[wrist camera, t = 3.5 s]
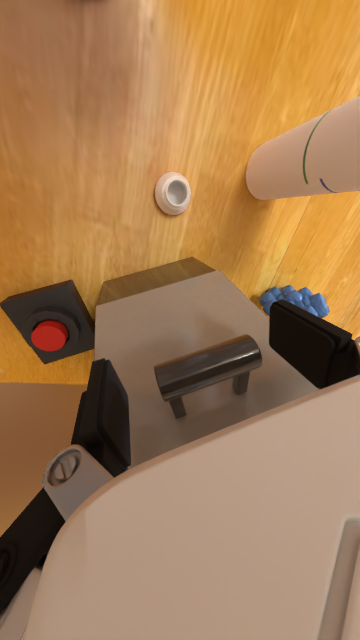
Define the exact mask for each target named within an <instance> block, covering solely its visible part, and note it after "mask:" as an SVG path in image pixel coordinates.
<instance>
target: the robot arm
mask: <svg viewBox="0 0 360 640" xmlns="http://www.w3.org/2000/svg"><path fill="white" fill-rule="evenodd" d="M351 337H352V334H351V333H349V332H347V331H345V330H343V329H341V328H339V327H337V326H335V325H333V324H331V323H329V322H327V321H325V320H323V319H321V318H320V317H318V316H316V315H314V314H312V313H310V312H308V311H306V310H304V309H302V308H300V307H298V306H296V305H294V304H292V303H290V302H288V301H286V300H284V299H282V300H279V301H275V302H273V303H272V305H271V306H270V316H269V345H270V347H271V348H272V349H273V350H274V351H275V352H276V353H278V354H279V355H280V356H281V357H282V358H283V359H284V360H286V361H287V362H288V363H289V364H290V365H291V366H292V367H294V368H295V369H296V370H297V371H298V372H299V373H300V374H301V375H303V376H304V377H305V378H306V379H307V380H308V381H309V382H311V383H312V384H313V385H314V386H315V387H316V388H318V389H321V390H318V391H316V392H313V393H311V394H308V395H306V396H303V397H301V398H298V399H296V400H293V401H291V402H288V403H286V404H283V405H281V406H278V407H276V408H273V409H271V410H268V411H266V412H263V413H261V414H258V415H256V416H253V417H251V418H249V419H246V420H244V421H241V422H239V423H236V424H234V425H231V426H229V427H226V428H224V429H222V430H219V431H217V432H214V433H212V434H209V435H207V436H204V437H202V438H200V439H197V440H195V441H192V442H190V443H187V444H185V445H183V446H180V447H178V448H176V449H173V450H171V451H169V452H166V453H164V454H162V455H159V456H157V457H155V458H152V459H150V460H148V461H145V462H143V463H141V464H139V465H137V466H135V467H133V468H131V469H129V470H128V466H131V444H130V422H129V400H128V395H127V392H126V390H125V389H124V387H123V385H122V383H121V381H120V379H119V377H118V375H117V373H116V371H115V369H114V367H113V365H112V363H111V361H110V360H109V359H108V360H106V359H105V358H102V359H99V360H96V361H93V362H92V367H91V372H90V377H89V382H88V387H87V391H85V392H83V393H82V396H81V400H80V404H79V409H78V413H77V419H76V423H75V427H74V432H73V437H72V441H71V445H70V446H67V447H65V448H64V449H62V450H61V451H59V452H58V453H57V454H56V455H55V456H54V457H53V458H52V460H51V461H50V462H49V464H48V465H47V467H46V469H45V471H44V474H43V480H42V483H43V488H42V490H41V491H40V492H39V493H38V494H37V495H36V497H35V498H34V499H33V500H32V501H31V502H30V504H29V505H28V506H27V507H26V508H25V509H24V511H23V512H22V513H21V514H20V515H19V516H18V517H17V519H16V520H15V521H14V522H13V523H12V524H11V526H10V527H9V528H8V529H7V530H6V531H5V533H4V534H3V535H2V536H1V537H0V640H21V638H22V635H23V634H24V632H25V634H24V638H23V640H360V336H359V337H357V338H356V339H355V341H354V340H352V339H351ZM25 629H26V630H25Z"/></svg>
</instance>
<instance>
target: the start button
mask: <svg viewBox="0 0 360 640" xmlns="http://www.w3.org/2000/svg"><path fill="white" fill-rule="evenodd" d="M67 337H68V330H67V328H66V327H65V326H64V325H63V324H62V323H60V322H57V321H53V320H47V321H43V322H41V323H40V324H39V325H38V326H37V327H36V328H35V330H34V331H33V333H32V335H31V339H32V342H33V344H34V345H35V346H36V347H38V348H39V349H41V350H45V351H55V350H58V349H60V348H62V347H63V346H64V344H65V342H66V339H67Z"/></svg>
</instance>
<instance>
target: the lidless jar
mask: <svg viewBox="0 0 360 640" xmlns="http://www.w3.org/2000/svg"><path fill="white" fill-rule="evenodd" d="M155 198H156V201H157V204H158V206H159V207H160V208H161V209H162V211H163V212H165V213H167V214H169V215H178V214H180V213H182V212H184V211H185V210H186V208H187V207H188V206H189V203H190V200H191V188H190V185H189V182H188V181H187V180H186V178H185V177H184V176H183V175H181V174H180V173H178V172H168V173H166V174H164V175H162V176H161V178H160V179H159V180H158V182H157V184H156V188H155Z"/></svg>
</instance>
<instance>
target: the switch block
mask: <svg viewBox="0 0 360 640" xmlns="http://www.w3.org/2000/svg"><path fill="white" fill-rule="evenodd" d="M0 306H1V308H2V309H3V310H4V312H5V313H6V314H7V316H8V317H9V318H10V320H11V321H12V322H13V324H14V325H15V326H16V328H17V329H18V330H19V331H20V333H21V334H22V336H23V338H24V339H25V340H26V342H27V343H28V344H29V346H30V347H32V349H33V350H34V351H35V353H36V354H37V355H38V357H39V358H40V359H41V361H42V362H43V363H44V364H47V363H50V362H54V361H57V360H60V359H63V358H66V357H69V356H72V355H75V354H78V353H82V352H85V351H88V350H91V349H94V348H95V324H94V322H93V320H92V318H91V316H90V314H89V312H88V310H87V308H86V306H85V304H84V302H83V300H82V298H81V296H80V295H79V293H78V291H77V289H76V287H75V285H74V283H73V281H72V280H68V281H65V282H61V283H57V284H54V285H50V286H46V287H43V288H39V289H36V290H32V291H28V292H25V293H21V294H17V295H14V296H10V297H8V298H6V299H5V300H4V301H2V302H1V303H0ZM47 320H53V321H57V322H60V323H62V324H63V325H64V326H65V327H66V328H67V330H68V337H67V339H66V342H65V344H64V346H63V347H62V348H60V349H58V350H55V351H45V350H41V349H39V348H38V347H36V346H35V345H34V344H33V342H32V339H31V335H32V333H33V331H34V330H35V328H36V327H37V326H38V325H39V324H40V323H41V322H43V321H47Z"/></svg>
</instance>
